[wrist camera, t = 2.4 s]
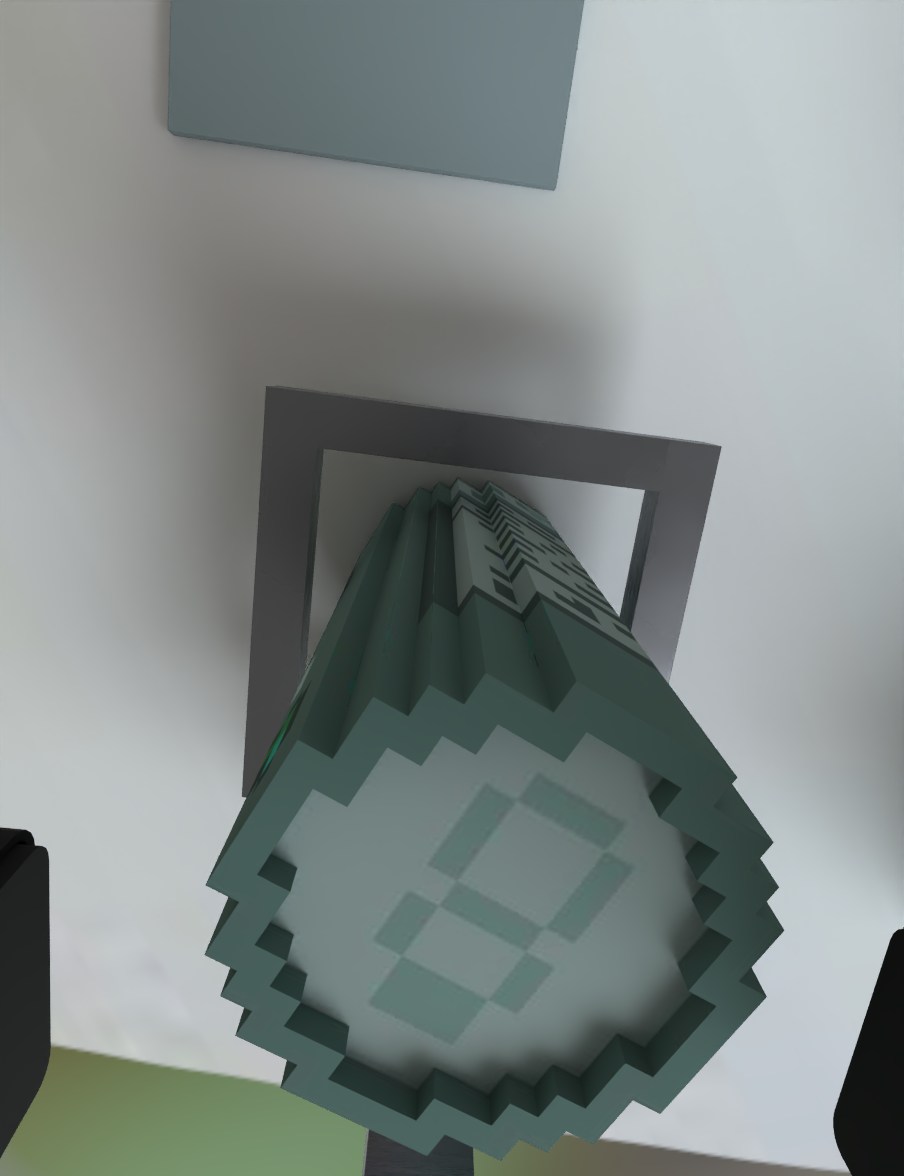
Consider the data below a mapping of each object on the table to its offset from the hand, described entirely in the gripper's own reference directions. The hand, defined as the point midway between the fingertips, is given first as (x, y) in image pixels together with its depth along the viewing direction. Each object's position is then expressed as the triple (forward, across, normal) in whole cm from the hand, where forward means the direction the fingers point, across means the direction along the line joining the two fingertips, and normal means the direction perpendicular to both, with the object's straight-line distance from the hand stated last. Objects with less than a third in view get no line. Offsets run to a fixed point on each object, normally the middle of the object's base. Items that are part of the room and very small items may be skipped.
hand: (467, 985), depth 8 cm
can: (+15, 0, -1) cm, 15 cm away
